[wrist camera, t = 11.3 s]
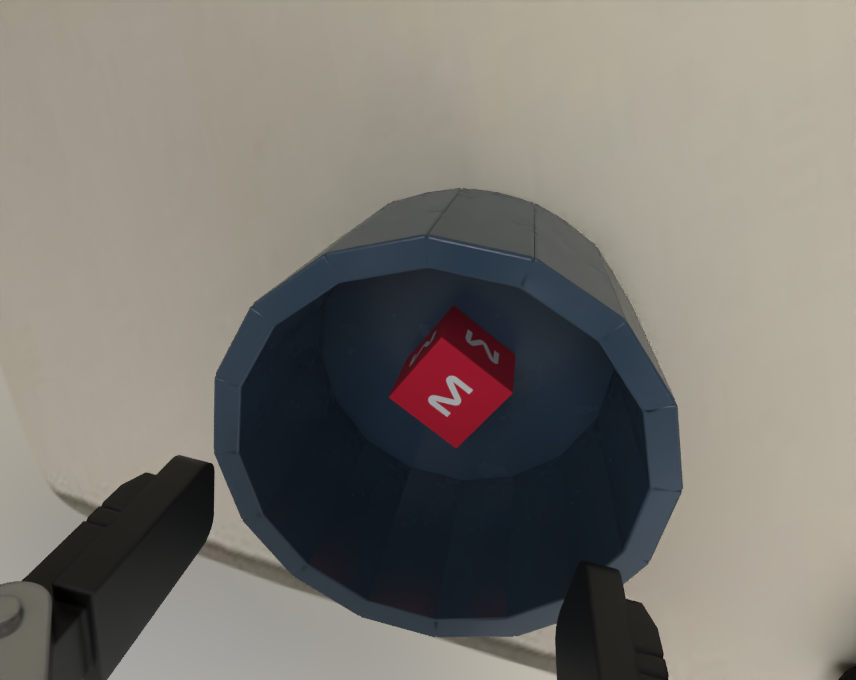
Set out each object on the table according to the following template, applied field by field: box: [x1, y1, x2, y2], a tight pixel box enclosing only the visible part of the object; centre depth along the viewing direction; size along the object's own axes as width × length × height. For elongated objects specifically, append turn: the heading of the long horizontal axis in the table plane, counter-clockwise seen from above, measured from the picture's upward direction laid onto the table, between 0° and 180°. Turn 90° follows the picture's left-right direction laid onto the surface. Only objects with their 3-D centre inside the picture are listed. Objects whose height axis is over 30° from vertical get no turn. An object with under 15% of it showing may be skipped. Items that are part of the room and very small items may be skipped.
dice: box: [389, 306, 516, 448], centre depth 20 cm, size 3×3×3 cm
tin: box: [214, 188, 683, 637], centre depth 19 cm, size 13×13×8 cm
